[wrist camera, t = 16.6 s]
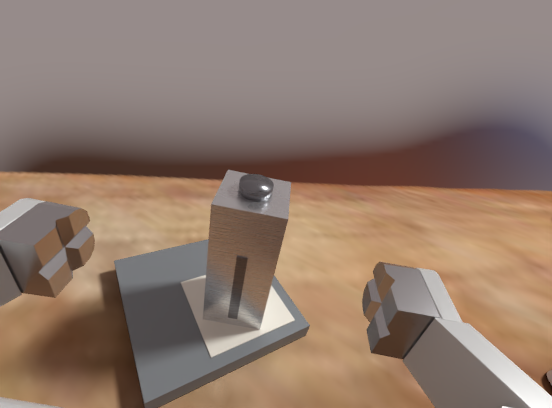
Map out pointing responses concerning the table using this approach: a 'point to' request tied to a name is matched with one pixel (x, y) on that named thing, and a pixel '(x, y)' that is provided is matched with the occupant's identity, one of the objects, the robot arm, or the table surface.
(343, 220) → the table surface
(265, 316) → the dock board
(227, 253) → the aluminium block
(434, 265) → the table surface
